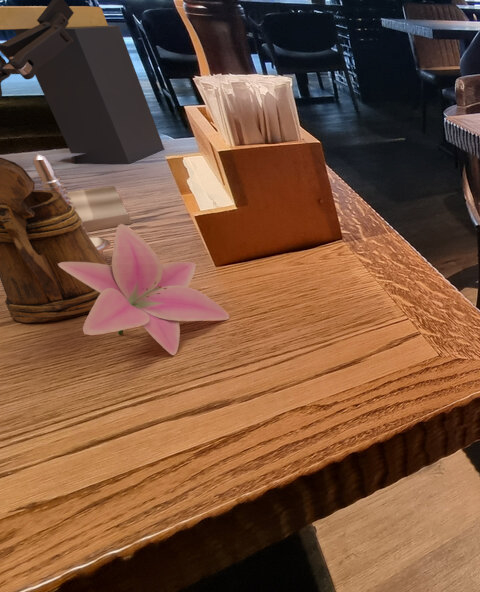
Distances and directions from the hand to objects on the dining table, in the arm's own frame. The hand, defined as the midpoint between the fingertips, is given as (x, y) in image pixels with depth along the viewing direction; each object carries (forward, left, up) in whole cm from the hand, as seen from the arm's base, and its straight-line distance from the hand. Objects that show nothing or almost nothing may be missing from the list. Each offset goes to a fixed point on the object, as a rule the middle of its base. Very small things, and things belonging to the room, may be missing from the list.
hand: (25, 2), depth 82 cm
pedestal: (-2, +7, -26) cm, 27 cm away
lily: (+61, -40, -26) cm, 77 cm away
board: (+23, -18, -26) cm, 39 cm away
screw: (+39, -30, -26) cm, 56 cm away
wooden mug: (+48, -39, -26) cm, 67 cm away
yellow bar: (-1, +2, -4) cm, 4 cm away
